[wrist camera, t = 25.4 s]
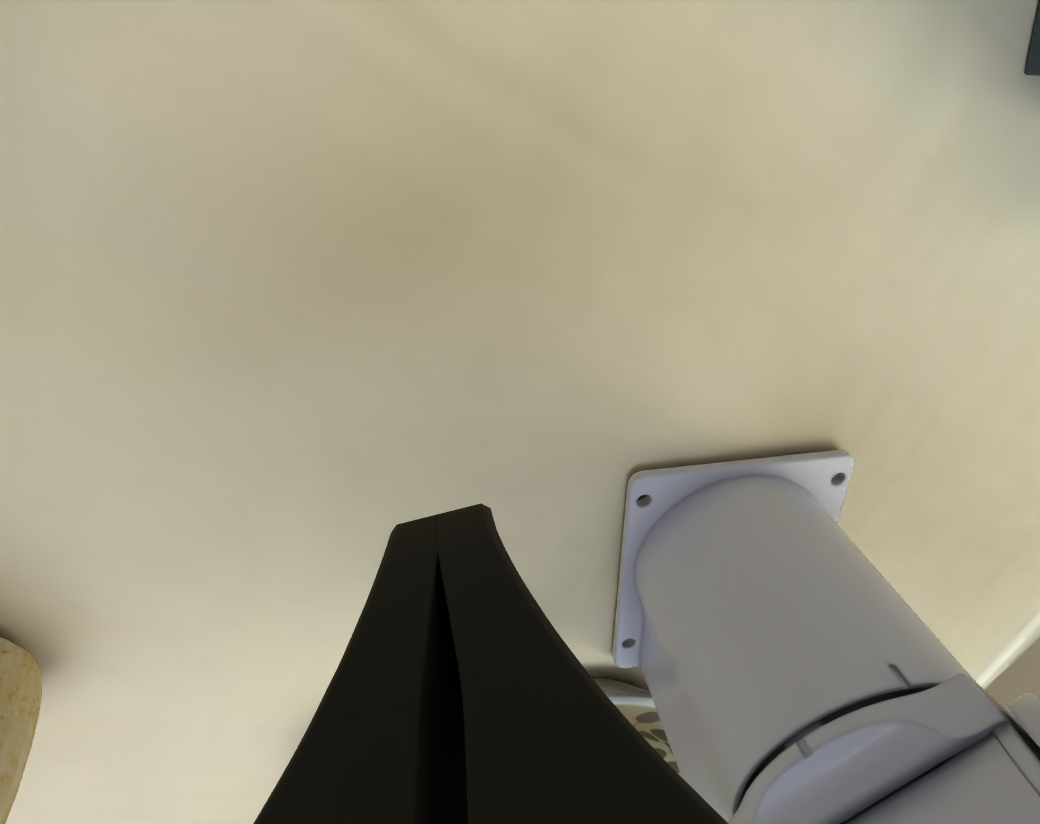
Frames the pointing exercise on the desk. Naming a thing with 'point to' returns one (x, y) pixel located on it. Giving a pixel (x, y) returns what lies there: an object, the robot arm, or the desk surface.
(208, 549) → the desk surface
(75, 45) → the desk surface
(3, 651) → the food model
